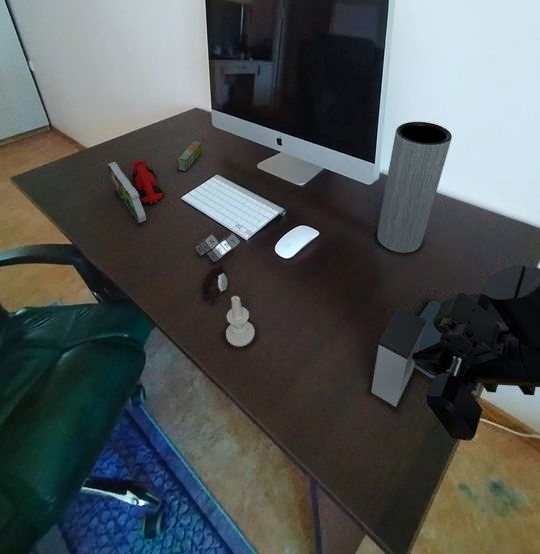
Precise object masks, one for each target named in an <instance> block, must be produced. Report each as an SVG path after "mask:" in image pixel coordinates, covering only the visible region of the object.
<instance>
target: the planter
mask: <svg viewBox="0 0 540 554" xmlns="http://www.w3.org/2000/svg"><path fill="white" fill-rule="evenodd" d="M452 135H453V134H452V133H451V132H450V130H448V129H447V128H446V127H444V126H441V125H439V124H437V123H436V124H435V123H434V122H433V123H432V122H427V121H409V122H404V123H402V124H400V125H398V127H397V128H396V130H395V134H394V138H393V145H392V150H391V155H390V161H389V166H388V172H387V177H386V182H385V188H384V193H383V199H382V203H381V204H382V205H381V209H380V215H379V220H378V225H377V232H376V237H377V240H378V242H379V243H380V244H381V246H383V247H384V248H386V249H388V250H390V251H392V252H395V253H400V254H407V253H412V252H415V251H418V249H420V247H421V245H422V244H423V241H424V237H425V233H426V229H427V226H428V223H429V218H430V216H431V212H432V209H433V206H434V201H435V199H436V194H437V191H438V187H439V185H440V184H439V183H440V180H441V177H442V173H443V170H444V167H445V163H446V160H447V156H448V153H449V149H450V145H451V142H452V138H453V136H452Z"/></svg>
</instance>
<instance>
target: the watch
mask: <svg viewBox="0 0 540 554" xmlns="http://www.w3.org/2000/svg"><path fill="white" fill-rule="evenodd" d="M218 274H219V275H218ZM216 275H217V276H218V280H217V289H216V290H215V291H214V292H213V293H211V294H207V290H208V287H209V285H210V283H211V280H212V279H213V278H214V277H215V276H216ZM227 288H228V279H227V274H226V272H225V268H224V267H222V266H215V267H214V268H213V269H211V270H210V271H209V272H208V274H207V275H206V276H205V278H204V280H203V282H202V292H203V295H204V296H205V298H206V299H207V300H209V301H214V300H216V299H218V298H219V296H220V295H221V294H222V292H223V291H226V290H227Z"/></svg>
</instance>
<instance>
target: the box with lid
mask: <svg viewBox="0 0 540 554" xmlns="http://www.w3.org/2000/svg"><path fill="white" fill-rule="evenodd" d="M418 316H419V315H416V314H414V313H412V312H410V311H408V310H406V309H403V308H401V307H398V308H397V310H396V311H395V314H394V315H393V317H392V319H391V320H390V322H389V324H388V326H387V328H386V329H385V331H384V332H383V335H382V336H381V337H380V339H379V341H378V348H377V354H376V359H375V365H374V372H373V379H372V383H371V384H372V385H371V391H370V392H371V393H372V394H373V395H375V396H376V397H378V398H380V399H382V400H384V401H385V402H387V403H388V404H390V405H391V406H393V407H395V408H396V407H397V406H398V403H399V401H400V400H401V398H402V395H403V393H404V391H405V390H406V389H405V388H406V386H407V385H408V382H409V380H410V378H411V376H412V374H413V373H414V368H415V367H414V365H415V361H414V360H413V359H412V357H413V355H414V353H416V352H418V350H419V346H420V342H421V338H422V335H423V331H424V327H425V323H426V320H425V319H423V318H421V317H418Z"/></svg>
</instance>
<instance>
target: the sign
mask: <svg viewBox="0 0 540 554" xmlns="http://www.w3.org/2000/svg"><path fill="white" fill-rule="evenodd" d="M107 169H108V173H109V175H110V178H111V181H112V183H113V185H114V187H115V189H116V191H117V193H118V195H119V197H120V198H121V199H122V200H123V202H124V204H125V205H126V206H127V208H128V209H129V210H130V212H131V213H132V215H133V216H134V218H135V219H136V221H137V222H138V224H140V223H143V222H145V221H147V215H146V212H145V209H144V207H143V205H142V201H141V199H140V195H139V192H138V191H137V189H136V188H135V187H134V186H133V185H132V183H131V181H130V180H129V179H128V177H126V175H125V174H124V173H123V171H122V170H121V169H120V167H119V165H118V163H117V162H116V161H113V162H110V163H107Z"/></svg>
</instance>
